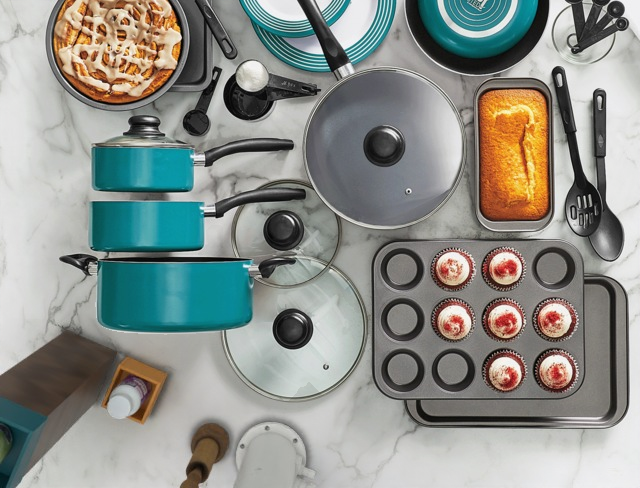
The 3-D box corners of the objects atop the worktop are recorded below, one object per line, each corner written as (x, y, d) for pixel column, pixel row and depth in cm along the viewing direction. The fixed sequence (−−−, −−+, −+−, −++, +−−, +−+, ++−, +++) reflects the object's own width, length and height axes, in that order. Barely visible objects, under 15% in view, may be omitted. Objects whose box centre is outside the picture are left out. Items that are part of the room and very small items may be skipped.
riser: (117, 351, 122) (46, 416, 94) (95, 401, 123) (19, 481, 95) (66, 329, 122) (-19, 387, 94) (45, 379, 123) (-46, 452, 95)
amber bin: (167, 374, 122) (160, 383, 118) (150, 414, 122) (142, 425, 118) (127, 356, 122) (118, 364, 118) (110, 396, 122) (100, 406, 118)
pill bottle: (157, 381, 122) (141, 402, 112) (143, 406, 122) (124, 429, 112) (132, 365, 122) (112, 385, 112) (117, 391, 122) (96, 413, 112)
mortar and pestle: (225, 462, 122) (203, 519, 104) (190, 455, 122) (162, 510, 104) (232, 426, 122) (211, 477, 104) (197, 419, 122) (170, 469, 104)
